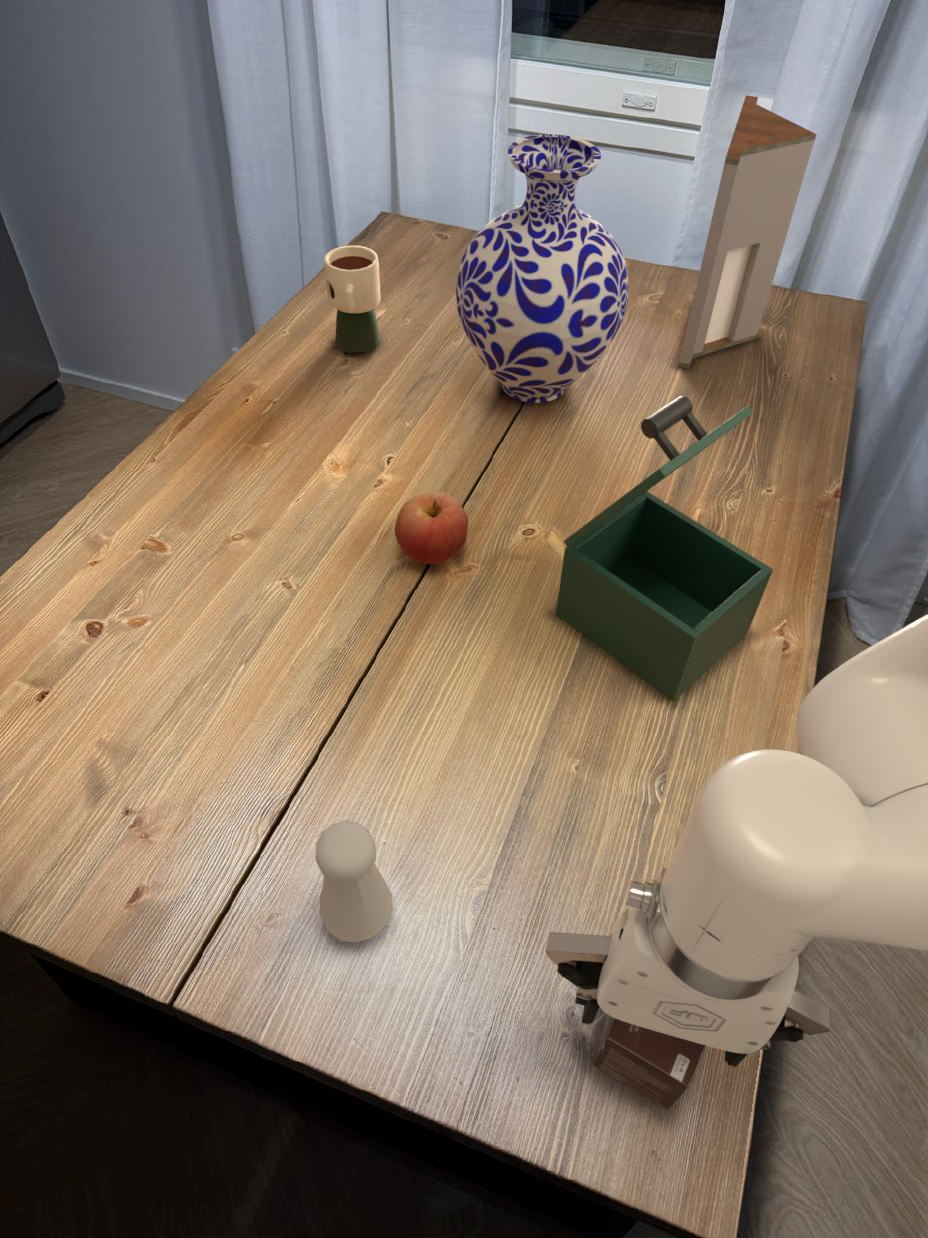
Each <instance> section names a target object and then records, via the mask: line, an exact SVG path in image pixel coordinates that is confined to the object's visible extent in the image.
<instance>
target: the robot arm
mask: <svg viewBox="0 0 928 1238" xmlns="http://www.w3.org/2000/svg"><path fill="white" fill-rule="evenodd" d="M795 732H796V733H795V734H796V739H797V743H798V747H799V750H800V753H797V752H795V751H790V750H785V749H778V748H777V749H773V748H771V749H770V748H769V749H767V748H764V749H757V750H752V751H748V752H744V753H741V754H739V755H736V756H734V757H733V758H731V759H729V760H727V761H726V762H724V763H723V764H722V765H721V766H719V767H718V768H717V769H716V770H715V771H714V772H713V773H712V774H711V776H710V777H709V779H708V780H707V782H706V783H705V784H704V786H703V789H702V791H701V793H700V794H699V795H698V798H697V800H696V803H695V804H694V805H695V806H694V807H693V809H692V811H691V814H690V816H689V817H688V820H687V822H686V825H685V827H684V829H683V831H682V833H681V835H680V838H679V840H678V842H677V845H676V847H675V849H674V851H673V853H672V856H671V858H670V860H669V861H668V862H669V863H668V865H667V867H666V868H664V867H662V868H661V869H660V870H661V871H660V872H659V875H658V877H657V879H651V882H649V881H644V882H638V881H634V880H630V881H629V885H628V889H627V893H626V898H625V907H624V908H623V910H622V911H621V912H620V914H619V916H618V917H617V918H616V920H615V921H614V924H613V925H612V927H611V928H610V931H609V934H608V935H604V934H603V935H602V934H601V935H600V934H588V933H574V932H573V933H571V932H557V931H552V932H549V933H548V937H547V942H546V946H545V951H544V952H545V954H546V956H547V957H548V958H549V960H550V961H551V962H552V963H553V964H554V965H556V966H557V968H556V972H557V973H558V975H560V976H561V977H562V978H564V979H566V980H567V981H568V982H569V983H571V984H572V985H574V986H575V987H576V990H575V1002H574V1004H577V1005H580V1006H583V1010H582V1015H581V1016H582V1017H581V1023H582V1024H584V1025H588V1026H590V1024H593V1023H594V1021H595V1018H596V1016H597V1014H598V1012H599V1009H601V1011H603V1012H604V1014H606V1015H608V1016H609V1017H610V1018H613V1019H614V1018H616V1019H618V1020H621V1021H624V1022H627V1023H630V1024H633V1025H636V1026H640V1027H643V1028H647V1029H650V1030H653V1031H657V1032H660V1033H664V1034H667V1035H671V1036H674V1037H678V1038H681V1039H685V1040H688V1041H692V1042H695V1043H699V1044H703V1045H706V1046H707V1047H710V1048H714V1049H718V1050H722V1051H724V1062H725V1063H726V1064H727V1066H731V1067H734V1068H737V1067H738V1066H739V1065H740V1064H741V1063H742V1061H743V1060H744V1059H745V1058H746V1057H748V1055H750V1054H753V1053H756V1052H758V1050H762V1051H768V1050H771V1048H772V1047H771V1046H772V1042H791V1043H797V1042H799V1041H803V1040H804V1035H805V1034H806V1035H808V1036H813V1035H818V1034H825V1033H829V1032H831V1030H832V1010H831V1008H830V1007H829V1006H827V1005H824V1004H823V1003H821V1002H819V1001H817V1000H815V999H813V998H812V997H810V996H808V995H806V994H804V993H802V992H800V991H798V990H796V986H797V982H798V978H799V972H800V961H799V955H800V954H801V953H802V952H803V950H804V949H805V948H806V947H807V946H808V945H809V943H810V942H811V941H812V940H813V939H814V937H816V938H826V939H836V940H842V941H843V940H844V941H852V942H853V941H854V942H861V943H869V944H877V945H884V946H890V947H897V948H903V949H911V950H912V949H913V950H919V951H925V952H928V613H927V614H925V615H923V616H921V617H920V618H918V619H916V620H914V621H913V622H911V623H909V624H907V625H905V626H904V627H902V628H900V629H898V630H897V631H895V632H894V633H892V634H890V635H888V636H886V637H885V638H883V639H881V640H880V641H878V642H876V643H874V644H872V645H871V646H869V647H867V648H866V649H864V650H861V652H859V653H858V654H856V655H854V656H852V657H851V658H849V659H848V660H846V661H845V662H843V663H842V664H841V665H838V667H836V668H835V669H833V670H832V671H831V672H829V673H828V674H827V675H825V676H824V677H823V678H822V679H821V680H819V681H818V683H817V684H816V685H814V686H813V687H812V688H811V690H810V691H809V692H808V693H807V694H806V696H805V697H804V699H803V701H802V703H801V705H800V706H799V709H798V711H797V714H796V721H795ZM706 1046H705V1047H706Z"/></svg>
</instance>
